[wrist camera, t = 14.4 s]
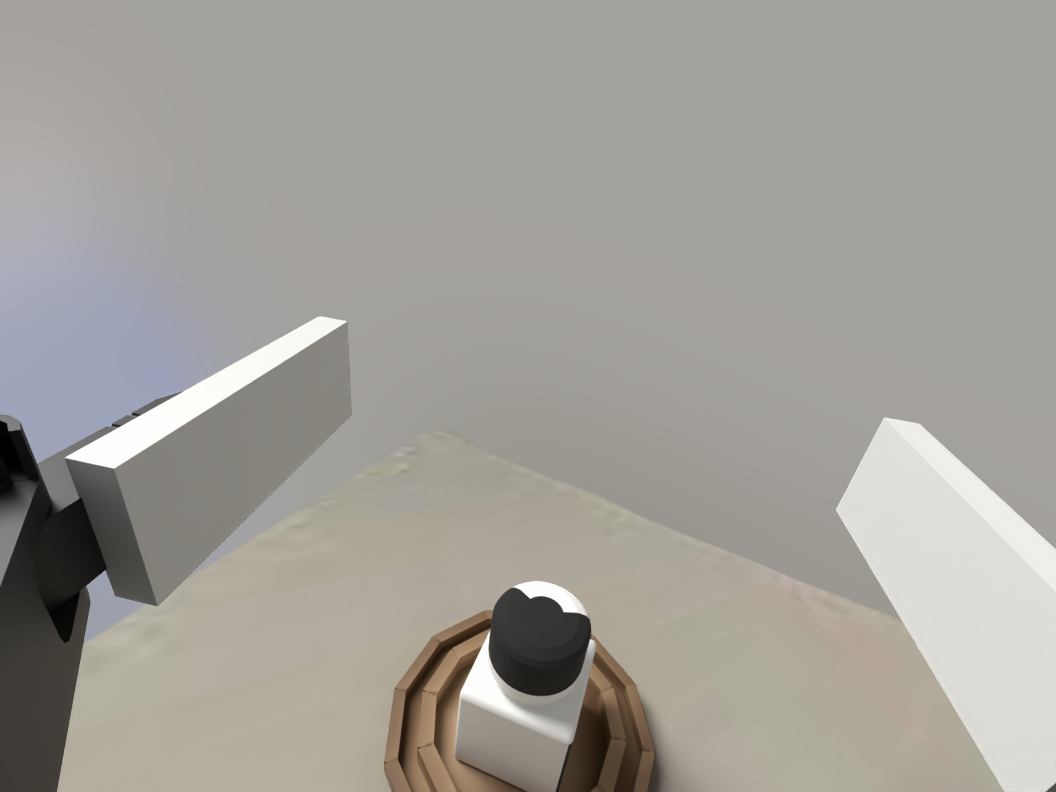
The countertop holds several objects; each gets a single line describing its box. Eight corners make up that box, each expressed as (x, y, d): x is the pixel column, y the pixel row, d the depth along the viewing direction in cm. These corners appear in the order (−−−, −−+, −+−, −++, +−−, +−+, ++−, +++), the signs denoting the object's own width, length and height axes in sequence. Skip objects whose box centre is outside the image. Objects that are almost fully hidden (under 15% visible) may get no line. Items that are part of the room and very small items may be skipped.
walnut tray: (609, 626, 45) (615, 606, 44) (683, 894, 29) (694, 876, 28) (405, 626, 42) (405, 606, 41) (365, 921, 27) (363, 901, 26)
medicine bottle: (554, 807, 31) (588, 690, 26) (451, 759, 33) (463, 640, 28) (580, 701, 38) (612, 589, 32) (492, 665, 39) (508, 553, 34)
